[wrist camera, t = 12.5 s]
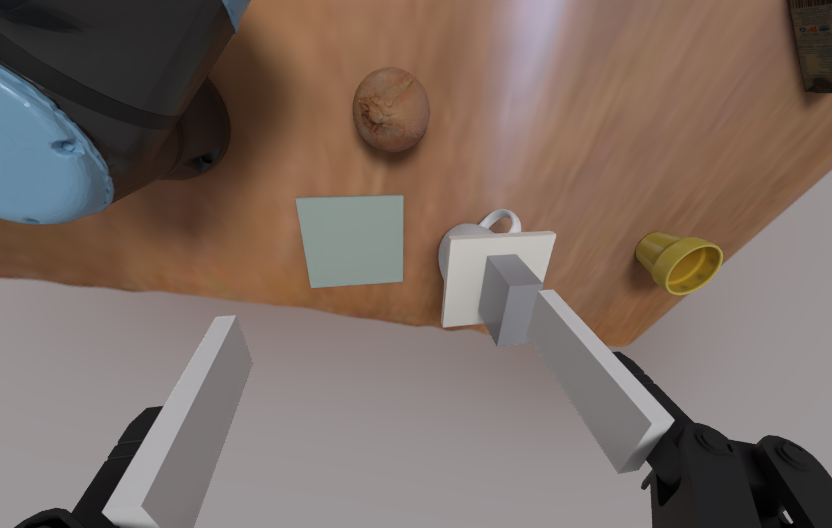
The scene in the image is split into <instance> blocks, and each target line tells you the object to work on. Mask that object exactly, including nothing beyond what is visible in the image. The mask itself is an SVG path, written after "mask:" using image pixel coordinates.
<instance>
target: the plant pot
mask: <svg viewBox="0 0 832 528" xmlns="http://www.w3.org/2000/svg"><path fill="white" fill-rule="evenodd" d="M636 257H637V259H638V260H639V261H640V262H641V263H642V264H643V265H644V267H645V268H646V269H647V270H648V271H649V272H650V273H651V274H652V278H653V280H654V282H655V283H656V284H658V285H659V286H660V287H662V288H663V289H664V290H666V291H667V292H669V293H671V294H673V295H685V294H689V293H691V292H694V291H696V290H698V289H700V288H701V287H702V286H704V285H705V284H707V283H708V282H709V281H710V280H711V279H712V278H713V277H714V276H715V274H716V273H717V272H718V270H719V268H720V266H721V264H722V261H723V253H722V250H721V249H720V248H719V247H718V246H716V245H714V244H712V243H710V242H708V241H705V240H703V239H700V238H696V237H690V238H685V237H680V236H676V235H672V234H668V233H664V232H653V233H651V234H649V235H647V236H645V237H644V238H643V239H642V240H641V241H640V242H639V244H638V246H637V248H636Z"/></svg>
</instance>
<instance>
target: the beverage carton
mask: <svg viewBox="0 0 832 528" xmlns="http://www.w3.org/2000/svg"><path fill="white" fill-rule="evenodd" d="M789 4H790V10H791V16H792V21H793V26H794V32H795V38H796V44H797V50H798V55H799V61H800V66H801V72H802V76H803V80H804V85H805V91H807V92H815V93H832V0H789Z"/></svg>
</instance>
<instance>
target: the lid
mask: <svg viewBox="0 0 832 528" xmlns="http://www.w3.org/2000/svg"><path fill="white" fill-rule="evenodd" d="M555 238H556V234H555V233H553V232H552V231H540V232H519V233H498V234H477V235H456V236H448V247H447V258H446V269H445V281H444V292H443V304H442V315H441V324H442V326H443V327H452V326H463V325H473V324H484V323H485V325H486V327H487V329H488V331H489V332H490V334H491V336H492V338H493V340H494V342H495V344H496V346H506V345H515V344H525V343H527V341H528V337H527V336H526V334H527V330H528V326H529V323H530V319H531V315H532V312H533V308H534V304H535V301H536V297H537V293H538V291H542V288H543V281H544V277H545V273H546V270H547V266H548V263H549V259H550V256H551V252H552V248H553V245H554V241H555Z"/></svg>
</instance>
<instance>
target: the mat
mask: <svg viewBox="0 0 832 528" xmlns="http://www.w3.org/2000/svg"><path fill="white" fill-rule="evenodd" d="M296 205H297V210H298V216H299V222H300V227H301V233H302V239H303V245H304V250H305V256H306V262H307V268H308V273H309V279H310V285H311V288H319V287H334V286H348V285H362V284H376V283H390V282H403V195H370V196H333V197H296Z"/></svg>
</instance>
